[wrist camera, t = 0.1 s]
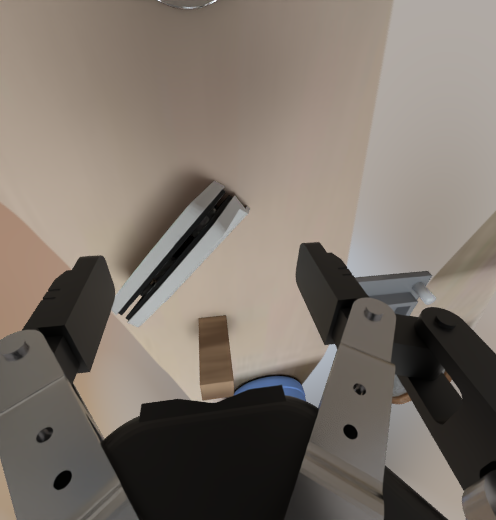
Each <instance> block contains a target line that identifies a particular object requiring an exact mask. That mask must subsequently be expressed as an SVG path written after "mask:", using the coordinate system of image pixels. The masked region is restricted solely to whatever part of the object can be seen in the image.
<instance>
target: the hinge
mask: <svg viewBox="0 0 496 520" xmlns="http://www.w3.org/2000/svg"><path fill="white" fill-rule="evenodd" d="M224 187H225V186H224V185H222V184H220V183H218V182H216V181H213V182H212V183H211V184H210V185H209V186H208V187H207V188H206V189H205V190H204V191H203V192H202V193H201V194H200V195H198V196H197V197H196V198H195V199H194V200H193V201H192V202H191V203H190V204H189V205H188V207H187V208H186V209H185V210H184V211H183V213H182V214H181V215H180V216H179V217H178V218H177V220H176V221H175V222H174V223H173V224H172V226H171V227H170V228H169V229H168V230H167V232H166V233H165V234H164V235H163V237H162V238H161V239H160V240H159V241H158V243H157V244H156V245H155V246H154V247H153V249H152V250H151V251H150V252H149V254H148V255H147V256H146V257H145V259H144V260H143V261H142V262H141V264H140V265H139V266H138V267H137V269H136V270H135V271H134V272H133V274H132V275H131V276H130V277H129V279H128V280H127V281H126V283H125V284H124V285H123V286H122V288H121V289H120V290H119V292H118V293H117V294H116V296H115V300H114V303H113V306H112V309H111V310H112V311H113V312H114V313H115V314H116V315H117V314H118V313H119V314H120V315H122V314H123V313H124V312H125V311H126V310H127V309H128V307H129V306H130V305H131V304H132V303H133V302H134V300H135V299H136V298H137V297H138V296H139V295H141V296H142V297H141V299H140V300H139V301H138V303H137V304H136V305H135V306H134V308H133V309H132V310H131V311H130V313H129V314H128V315H127V317H126V319H128V322H127V323H129V324H131V325H134V326H136V327H139V326H140V325H142V324H143V323H144V322H145V321H146V320H147V319H148V318H149V317H150V316H151V315H152V314H153V313H154V312H155V311H156V310H157V309H158V308H159V307H160V306H161V305H162V304H163V303H164V302H166V301H167V300H168V299H169V298H170V297H171V296H172V295H173V294H174V292H175V291H176V290H177V289H178V288H179V287H180V286H181V285H182V284H183V283H184V282H185V281H186V280H187V279H188V277H189V276H190V275H191V274H192V273H193V272H194V271H195V270H196V269H197V268H198V267H199V266H200V265H201V264H202V262H203V261H204V260H205V259H206V258H207V257H208V256H209V255H210V254H211V253H212V252H213V251H214V250H215V249H216V247H217V246H218V245H219V244H220V243H221V242H222V241H223V240H224V239H225V238H226V237H227V236H228V235H229V233H230V232H231V231H232V230H233V229H234V228H235V227H236V226H237V225H238V224H239V223H240V222H241V221H242V220H243V218H244V217H245V216H246V215H247V214H248V213H249V210H250V208H249V207H248V206H246V207H245V208H244V206H243V205H242V204H241V203H240V201H239V200H238V199H237V197H236V196H235V195H234V197H233V198H232V197H231V196H230V195H229V196H228V197H227V198H226V199H225V201H224V202H223V203H222V204H221V205H220V207H219V208H218V209H217V210H215V208H214V206H215V205H216V203H217V202H218V201H219V200H220V199H221V197H222V196H223V195H224V194H225V191H224V190H223V188H224ZM191 234H192V235H193V236H194V240H193V241H192V242H191V243H190V244H189V245H188V246H187V248H186V249H185V250H184V251H183V252H182V253H181V255H180V256H179V257H178V258H177V259H175V258H173V257H172V256H173V255H174V254H175V252H176V251H177V250H178V249H179V248H180V246H181V245H182V244H183V243H184V242H185V241H186V239H187V238H188V237H189V236H190V235H191ZM152 279H155V280H157V282H156V283H153V284H152V285H151V284H150V282H151V281H152Z"/></svg>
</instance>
